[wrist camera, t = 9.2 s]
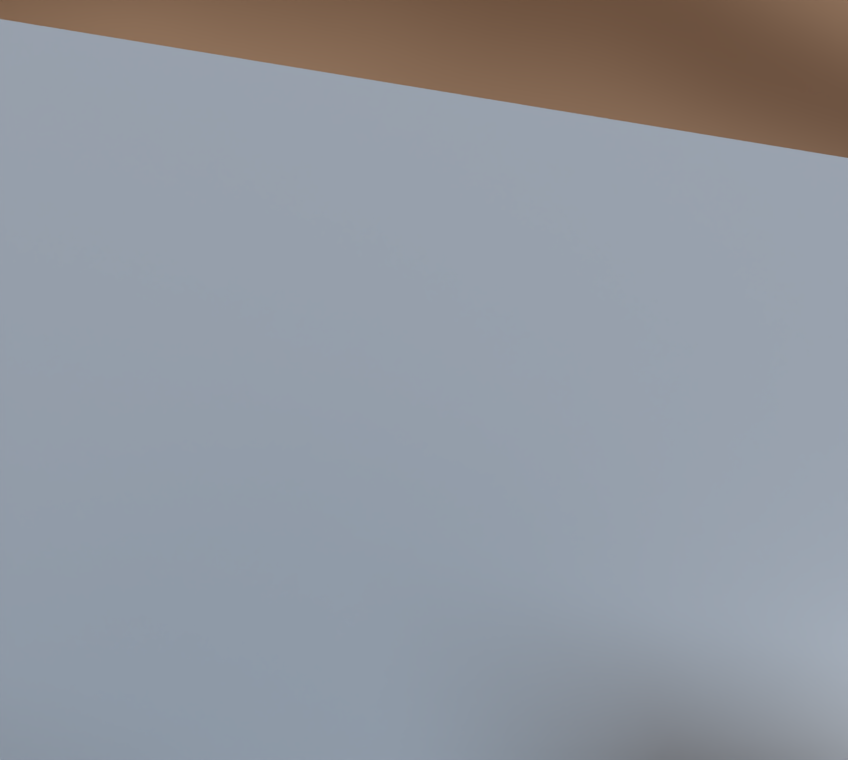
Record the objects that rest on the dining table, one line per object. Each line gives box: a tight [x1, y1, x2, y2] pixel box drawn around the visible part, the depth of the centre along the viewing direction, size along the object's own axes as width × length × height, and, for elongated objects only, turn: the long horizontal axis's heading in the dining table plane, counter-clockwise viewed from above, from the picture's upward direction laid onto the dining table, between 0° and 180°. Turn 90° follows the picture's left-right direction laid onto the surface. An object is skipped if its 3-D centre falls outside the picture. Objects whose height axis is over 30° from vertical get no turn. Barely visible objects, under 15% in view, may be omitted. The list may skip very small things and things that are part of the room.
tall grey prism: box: [0, 19, 848, 760], centre depth 10 cm, size 11×6×13 cm, turn 171°
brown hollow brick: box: [0, 0, 848, 158], centre depth 15 cm, size 7×14×6 cm, turn 81°
